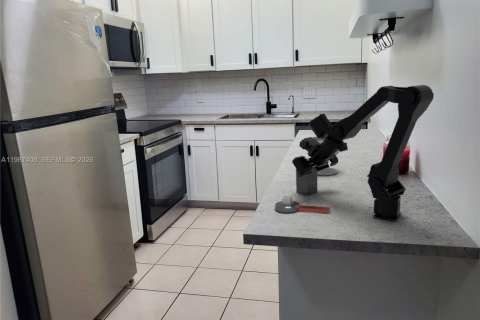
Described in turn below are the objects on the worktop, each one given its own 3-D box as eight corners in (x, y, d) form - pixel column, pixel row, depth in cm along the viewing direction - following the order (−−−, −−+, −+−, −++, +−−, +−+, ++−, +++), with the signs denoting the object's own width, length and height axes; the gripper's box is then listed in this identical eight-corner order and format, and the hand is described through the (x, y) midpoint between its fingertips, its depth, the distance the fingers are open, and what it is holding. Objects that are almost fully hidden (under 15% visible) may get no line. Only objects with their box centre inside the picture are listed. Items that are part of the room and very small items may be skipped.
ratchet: (331, 207, 118) (331, 195, 117) (328, 216, 111) (328, 204, 110) (278, 204, 124) (278, 192, 123) (272, 212, 117) (271, 200, 116)
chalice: (305, 176, 155) (305, 141, 151) (308, 168, 168) (308, 135, 165) (340, 177, 151) (340, 141, 148) (340, 168, 164) (340, 135, 161)
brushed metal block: (317, 192, 134) (317, 160, 131) (307, 195, 131) (306, 163, 128) (306, 189, 138) (305, 158, 135) (296, 192, 135) (295, 161, 132)
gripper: (331, 127, 131) (309, 153, 143) (295, 134, 121) (273, 161, 132) (350, 151, 127) (325, 176, 138) (313, 161, 116) (290, 187, 127)
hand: (303, 174), depth 134 cm, fingers closed on brushed metal block, 5 cm apart
